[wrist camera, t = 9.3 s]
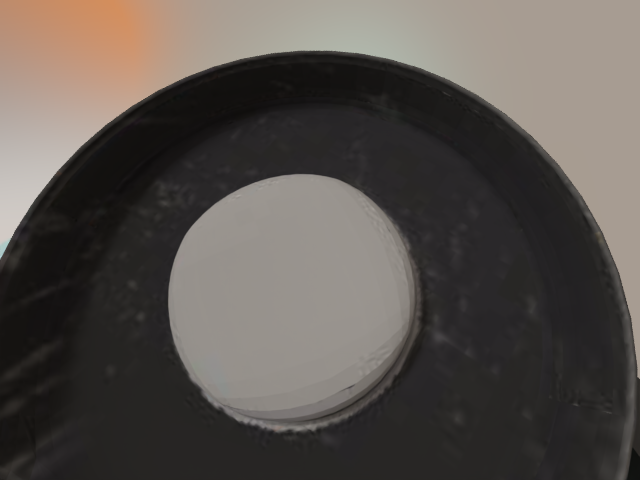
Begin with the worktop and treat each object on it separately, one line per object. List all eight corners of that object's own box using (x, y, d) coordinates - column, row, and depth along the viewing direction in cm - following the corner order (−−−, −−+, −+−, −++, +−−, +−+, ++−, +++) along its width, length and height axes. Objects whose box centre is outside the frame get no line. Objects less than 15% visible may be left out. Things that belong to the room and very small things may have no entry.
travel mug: (378, 290, 23) (507, 11, 5) (397, 403, 20) (901, 771, 2) (279, 301, 24) (45, 75, 5) (284, 414, 21) (-217, 834, 2)
